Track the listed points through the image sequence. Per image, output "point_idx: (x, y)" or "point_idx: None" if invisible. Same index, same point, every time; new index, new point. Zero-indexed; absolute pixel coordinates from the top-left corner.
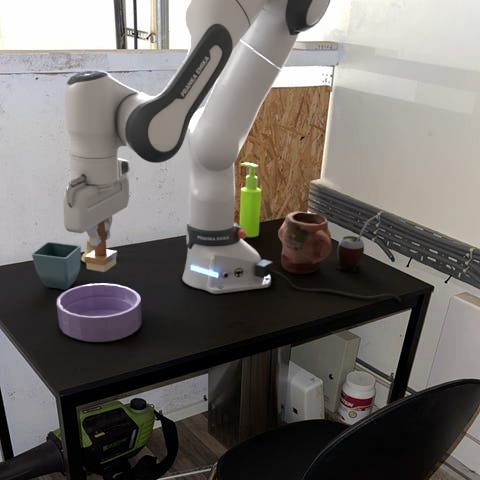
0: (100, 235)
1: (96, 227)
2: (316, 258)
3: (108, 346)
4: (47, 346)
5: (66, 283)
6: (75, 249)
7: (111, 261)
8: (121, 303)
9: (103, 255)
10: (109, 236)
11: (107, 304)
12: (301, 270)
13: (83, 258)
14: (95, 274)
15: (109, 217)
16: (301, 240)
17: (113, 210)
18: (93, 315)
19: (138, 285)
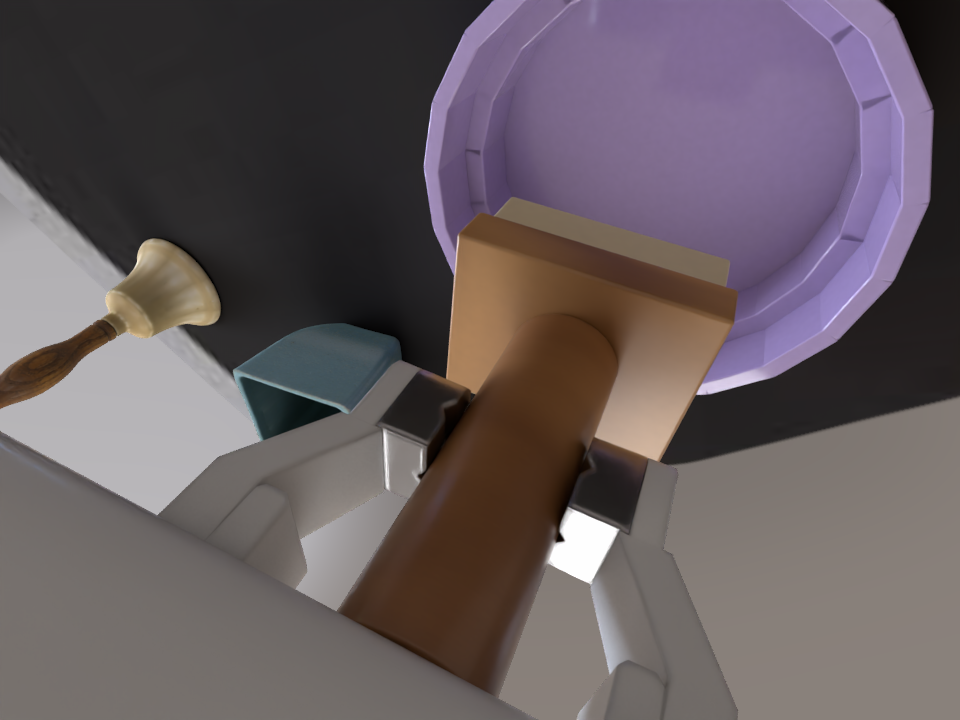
0: (569, 511)
1: (664, 714)
2: None
3: (947, 53)
4: (890, 346)
5: (394, 350)
6: (267, 384)
7: (577, 241)
8: (498, 106)
9: (607, 335)
10: (404, 373)
11: (498, 177)
12: None
13: (209, 320)
14: (264, 270)
15: (240, 536)
16: None
17: (100, 595)
18: (584, 216)
19: (252, 93)
